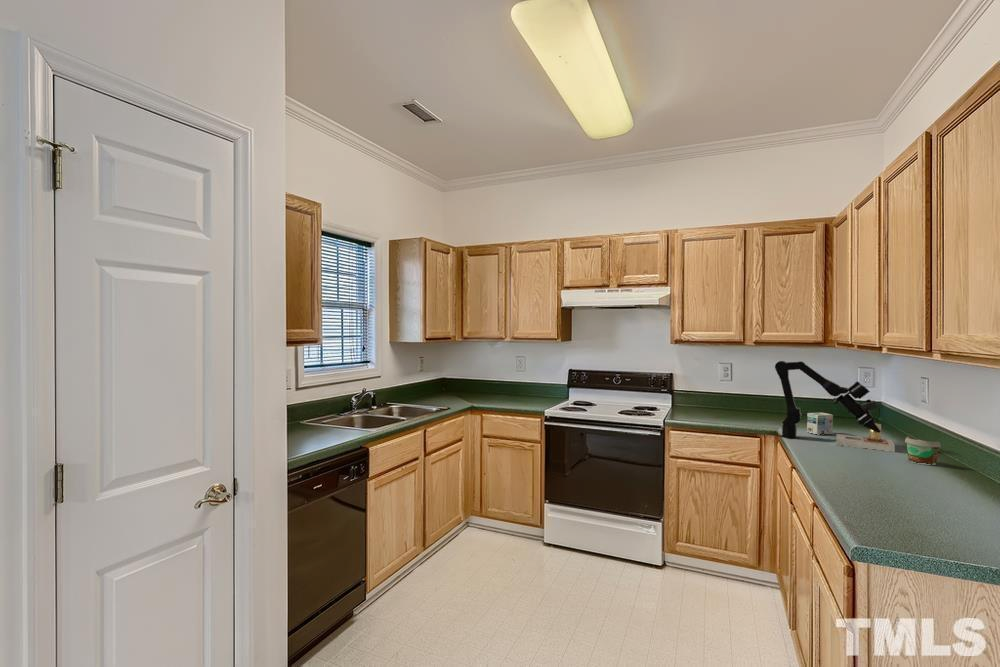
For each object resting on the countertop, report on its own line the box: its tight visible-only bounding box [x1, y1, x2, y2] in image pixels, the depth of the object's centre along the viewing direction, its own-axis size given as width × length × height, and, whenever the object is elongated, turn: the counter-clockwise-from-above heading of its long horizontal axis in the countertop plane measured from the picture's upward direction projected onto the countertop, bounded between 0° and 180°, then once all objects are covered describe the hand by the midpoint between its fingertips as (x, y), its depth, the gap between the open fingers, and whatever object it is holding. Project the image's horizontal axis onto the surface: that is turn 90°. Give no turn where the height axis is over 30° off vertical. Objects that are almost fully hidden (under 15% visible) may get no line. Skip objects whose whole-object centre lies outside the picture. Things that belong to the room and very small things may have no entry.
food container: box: [904, 435, 942, 464], centre depth 210 cm, size 12×6×10 cm, turn 21°
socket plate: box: [835, 433, 896, 453], centre depth 240 cm, size 22×14×3 cm, turn 57°
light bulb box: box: [806, 412, 834, 436], centre depth 266 cm, size 11×7×11 cm, turn 105°
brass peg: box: [868, 422, 882, 442], centre depth 237 cm, size 4×4×11 cm
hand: (879, 430), depth 236 cm, fingers open, 9 cm apart
